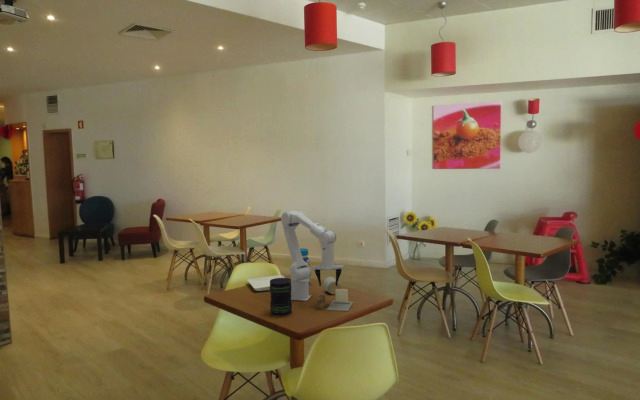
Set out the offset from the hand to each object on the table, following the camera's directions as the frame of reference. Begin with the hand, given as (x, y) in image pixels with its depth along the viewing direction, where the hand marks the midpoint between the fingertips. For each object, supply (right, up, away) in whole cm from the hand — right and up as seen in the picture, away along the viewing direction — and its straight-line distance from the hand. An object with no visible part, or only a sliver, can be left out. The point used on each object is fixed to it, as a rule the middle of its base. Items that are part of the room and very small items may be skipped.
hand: (328, 285), depth 222 cm
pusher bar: (-3, -10, -1) cm, 11 cm away
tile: (+7, -9, +4) cm, 12 cm away
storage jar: (-21, -11, -8) cm, 25 cm away
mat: (+6, -10, 0) cm, 11 cm away
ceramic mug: (+4, -8, +23) cm, 25 cm away
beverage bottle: (-13, -7, +38) cm, 41 cm away
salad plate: (-32, -8, +38) cm, 50 cm away
